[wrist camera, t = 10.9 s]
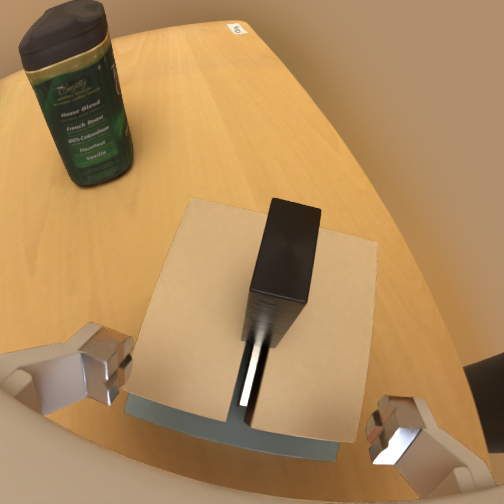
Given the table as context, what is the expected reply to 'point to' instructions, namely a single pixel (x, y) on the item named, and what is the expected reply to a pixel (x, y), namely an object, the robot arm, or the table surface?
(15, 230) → the table surface
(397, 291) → the table surface
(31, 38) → the coffee jar
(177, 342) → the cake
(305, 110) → the table surface
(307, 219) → the knife
